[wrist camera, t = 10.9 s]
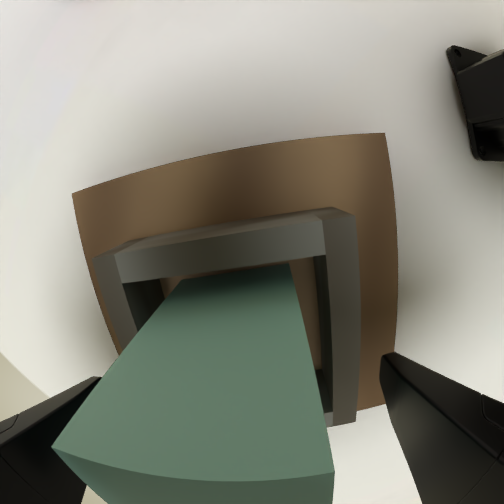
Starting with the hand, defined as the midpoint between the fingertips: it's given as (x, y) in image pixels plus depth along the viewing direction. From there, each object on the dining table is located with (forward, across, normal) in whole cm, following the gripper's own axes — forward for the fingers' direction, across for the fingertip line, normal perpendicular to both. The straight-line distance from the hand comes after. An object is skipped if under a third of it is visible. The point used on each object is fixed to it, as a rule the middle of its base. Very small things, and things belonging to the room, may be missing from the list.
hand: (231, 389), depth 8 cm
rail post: (+4, 0, 0) cm, 4 cm away
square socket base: (+6, 0, 0) cm, 6 cm away
